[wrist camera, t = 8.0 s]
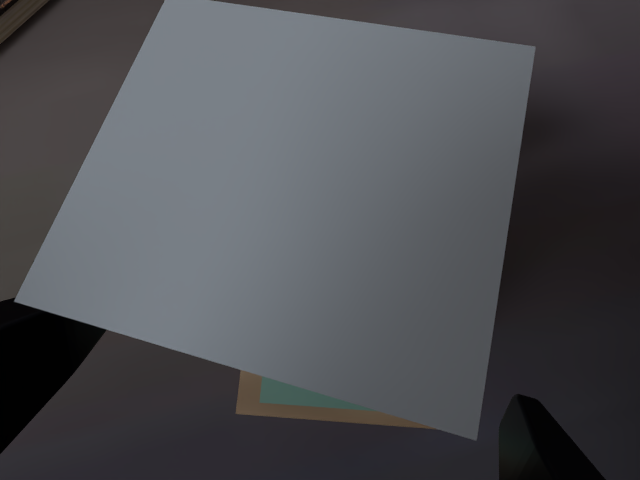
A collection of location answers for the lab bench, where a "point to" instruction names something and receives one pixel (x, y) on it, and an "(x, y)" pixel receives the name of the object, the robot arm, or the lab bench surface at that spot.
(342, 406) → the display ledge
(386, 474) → the lab bench surface
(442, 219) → the grey tapered block
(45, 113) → the lab bench surface
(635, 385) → the lab bench surface
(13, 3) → the hardcover book
